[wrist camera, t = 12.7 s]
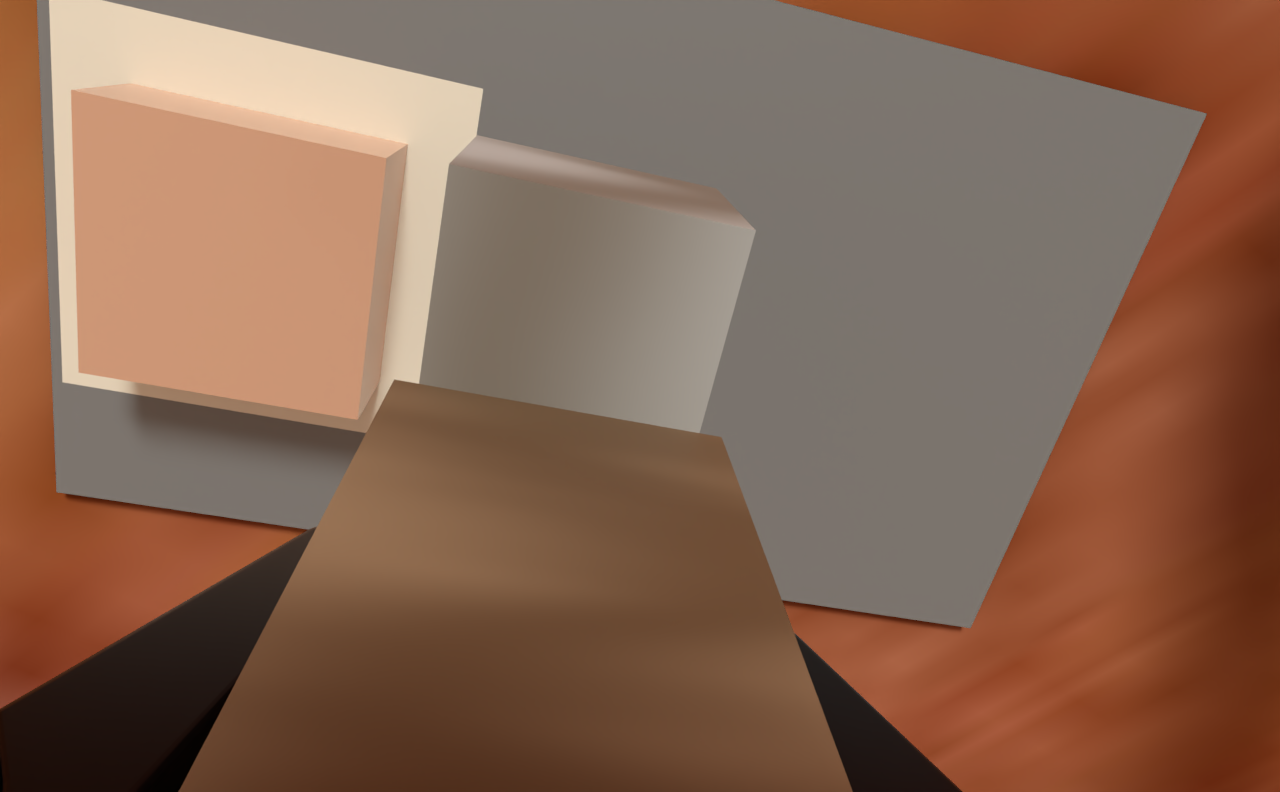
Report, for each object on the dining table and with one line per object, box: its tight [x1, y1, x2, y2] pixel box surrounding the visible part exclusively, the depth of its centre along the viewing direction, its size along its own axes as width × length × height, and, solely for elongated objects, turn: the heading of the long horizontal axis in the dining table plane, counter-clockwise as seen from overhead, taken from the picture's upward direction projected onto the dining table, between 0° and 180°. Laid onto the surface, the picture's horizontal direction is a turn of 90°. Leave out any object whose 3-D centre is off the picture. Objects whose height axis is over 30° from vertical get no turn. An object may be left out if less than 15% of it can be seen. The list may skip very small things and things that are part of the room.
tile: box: [71, 83, 408, 420], centre depth 16 cm, size 5×5×2 cm
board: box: [37, 0, 1207, 628], centre depth 18 cm, size 22×13×1 cm, turn 77°
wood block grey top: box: [179, 135, 853, 792], centre depth 8 cm, size 4×8×9 cm, turn 167°
